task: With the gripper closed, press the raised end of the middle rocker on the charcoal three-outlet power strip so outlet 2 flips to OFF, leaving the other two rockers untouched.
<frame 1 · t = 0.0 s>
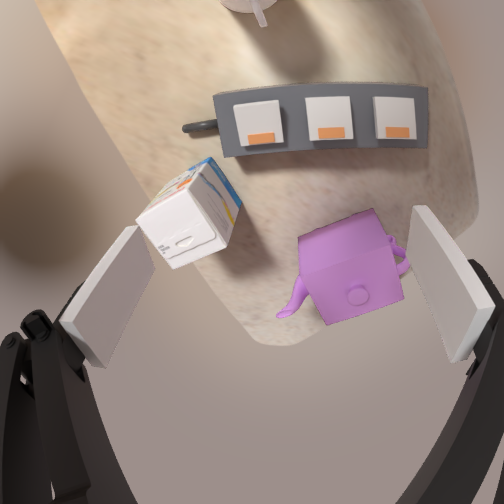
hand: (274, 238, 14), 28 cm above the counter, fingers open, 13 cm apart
rocker 1: (259, 123, 32), point 5 cm above the counter, hinge at 11.0°
power strip: (323, 111, 35), on the counter
teapot: (335, 246, 47), on the counter
ink box: (203, 191, 44), on the counter
rocker 2: (329, 118, 31), point 5 cm above the counter, hinge at -11.0°
rocker 3: (395, 117, 30), point 5 cm above the counter, hinge at -11.0°
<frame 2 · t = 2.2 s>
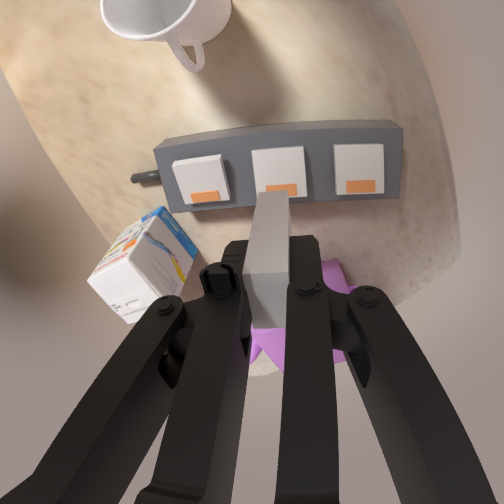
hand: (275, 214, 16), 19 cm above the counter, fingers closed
rocker 1: (201, 180, 31), point 5 cm above the counter, hinge at 11.0°
power strip: (280, 157, 33), on the counter
teapot: (299, 291, 45), on the counter
mug: (195, 23, 25), on the counter
ink box: (159, 238, 42), on the counter
rocker 2: (279, 172, 29), point 5 cm above the counter, hinge at -11.0°
rocker 3: (359, 168, 28), point 5 cm above the counter, hinge at -11.0°
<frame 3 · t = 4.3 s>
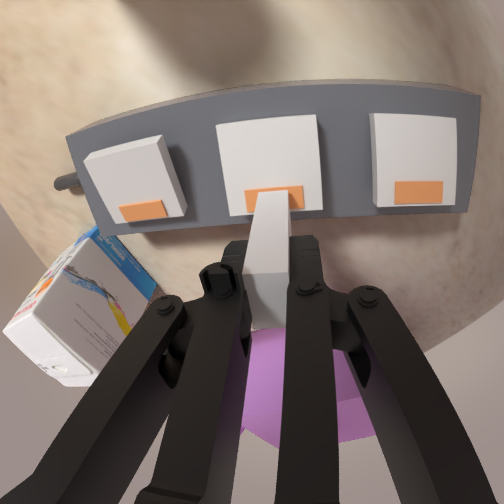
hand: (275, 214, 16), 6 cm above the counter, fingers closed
rocker 1: (135, 183, 17), point 5 cm above the counter, hinge at 11.0°
power strip: (274, 140, 19), on the counter
teapot: (303, 338, 32), on the counter
ink box: (105, 266, 28), on the counter
rocker 2: (271, 165, 15), point 5 cm above the counter, hinge at -8.5°, touching gripper
rocker 3: (416, 159, 14), point 5 cm above the counter, hinge at -11.0°
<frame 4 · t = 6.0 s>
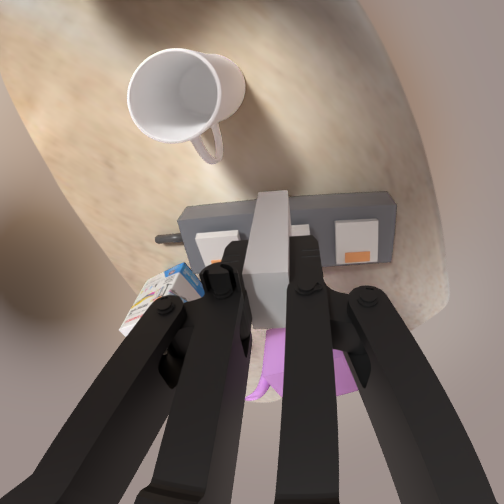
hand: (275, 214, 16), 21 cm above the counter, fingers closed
rocker 1: (221, 250, 36), point 5 cm above the counter, hinge at 11.0°
power strip: (288, 225, 39), on the counter
teapot: (303, 333, 50), on the counter
mug: (212, 101, 32), on the counter
ink box: (180, 288, 48), on the counter
rocker 2: (288, 246, 35), point 5 cm above the counter, hinge at 7.7°
rocker 3: (356, 241, 34), point 5 cm above the counter, hinge at -11.0°
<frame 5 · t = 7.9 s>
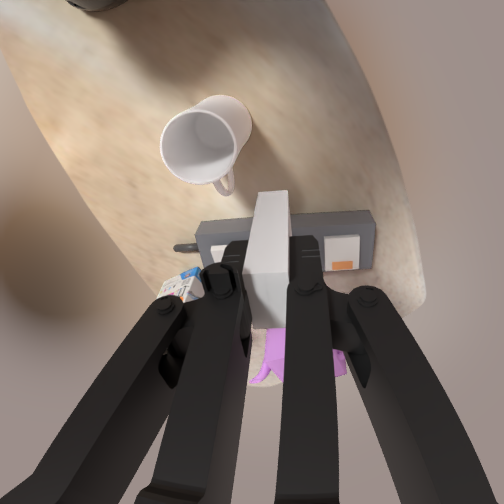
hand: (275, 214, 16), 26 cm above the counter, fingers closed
rocker 1: (231, 259, 45), point 5 cm above the counter, hinge at 11.0°
power strip: (286, 237, 47), on the counter
teapot: (298, 325, 59), on the counter
mug: (223, 135, 39), on the counter
ink box: (193, 288, 56), on the counter
rocker 3: (341, 253, 42), point 5 cm above the counter, hinge at -11.0°
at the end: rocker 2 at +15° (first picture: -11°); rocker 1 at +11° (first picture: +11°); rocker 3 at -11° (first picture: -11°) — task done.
